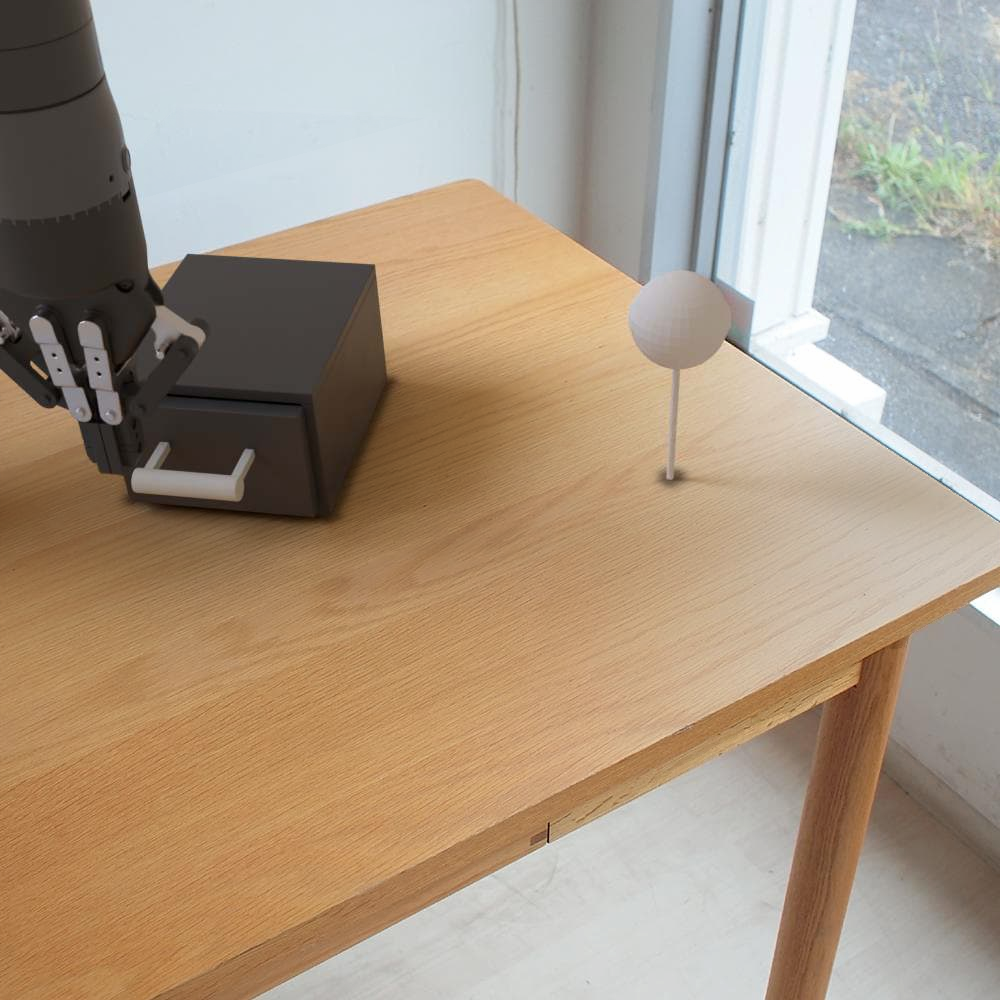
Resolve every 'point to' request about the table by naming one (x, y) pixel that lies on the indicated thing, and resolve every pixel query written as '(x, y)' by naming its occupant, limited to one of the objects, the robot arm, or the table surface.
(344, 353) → the cabinet
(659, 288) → the lollipop
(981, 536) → the table surface
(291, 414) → the drawer
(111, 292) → the robot arm
